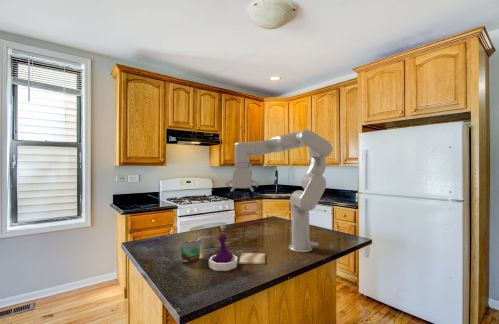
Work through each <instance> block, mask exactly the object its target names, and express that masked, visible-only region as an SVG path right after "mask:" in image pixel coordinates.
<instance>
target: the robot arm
mask: <svg viewBox="0 0 499 324" xmlns="http://www.w3.org/2000/svg"><path fill="white" fill-rule="evenodd" d="M233 147H234V168H233V170H232V177H231V178H232V179H231V180H228V181H227V182H226V183H225V186H226V188H227V189H228V190H229V192H230V198H231V200H235V189H249V190H250V200H253V198H255V191H256V190H257V188H258V187H259V185H260V183H259V182H258V181H256V180H254V179H253V174H252V169H251V167H252V166H253V163H250V157H260V156H262V155H267V154H271V153H280V152H286V151H290V150H295V149H298V148H303V147H307V148H308V150H307V151H308V155H309V157H310V164H309V166H308V168H307V170H306V172H305V173H304V175H303V177H302V178H301V181H300V182H301V183H300V184H301V187H302V188H303V190H295V191H293V192H292V193H291V195H290V197H289V198H290V199H289V203H290V210H291V211H290V212H291V244H289V245H288V249H289V250H290V251H292V252H295V253H308V252H311V251H313V247H319V242H316V241H311V240H310V211H312V210H314V209H315V208H316V207H317V205H318V204H319V202H320V199H321V198H322V196H323V194H324V192H325V191H326V189H327V188H326V187H327V180H326V178H325V177H324V173H325V171H326V169H327V161H326V157H329V156H330V155H331V154H332V152H333V146H332V144H331V142H329V141H328V140H327V139H325V138H324V137H322V136H320V135H319V134H317V133H316V132H314V131H312V130H310V129H303V130H300V131H296V132H291V133H286V134H282V135H277V136H275V137H272V138H269V139H266V140H265V139H264V140H261V141H251V142H245V141H238V142H235V143H234V146H233ZM253 184H255V185H254V187H253ZM230 185H232V187H231V186H230Z"/></svg>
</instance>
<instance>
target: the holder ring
mask: <svg viewBox="0 0 499 324" xmlns="http://www.w3.org/2000/svg"><path fill="white" fill-rule="evenodd" d="M216 255H217V254H214V255H211V256H210V258H209V259H208V268H209V269H211V270H213V271H217V272H221V271H223V272H227V271H230V270H235V269H236V268H237V267H238V256H236V255H234V254H232V255H233V257H232V259H231V261H230V262H228V263H216V262H214V261H213V259H214V258H215V257H216Z"/></svg>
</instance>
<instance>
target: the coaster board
mask: <svg viewBox="0 0 499 324" xmlns="http://www.w3.org/2000/svg"><path fill="white" fill-rule="evenodd" d="M239 257H240V258H239V261H238V264H239V265H266V253H264V252H263V253H255V252H242V253H241V254H240V256H239Z"/></svg>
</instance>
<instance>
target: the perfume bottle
mask: <svg viewBox="0 0 499 324" xmlns="http://www.w3.org/2000/svg"><path fill="white" fill-rule="evenodd" d="M226 229H227V225H220V230H221V232H219V233H218V237H217V239H218V240H219V241H220V247H219V251H218V252H217V254H215V255H216V257H215V258H214V259H213V261H214V262H216V263H228V262H231V259H232V257H233V255H234V254H232V253H231V251H230V250H228V249H227V246H226V242H225V241H226V240H227V238H228V237H227V236H226V235H227V234H226V233H225V232H224V230H226Z"/></svg>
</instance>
